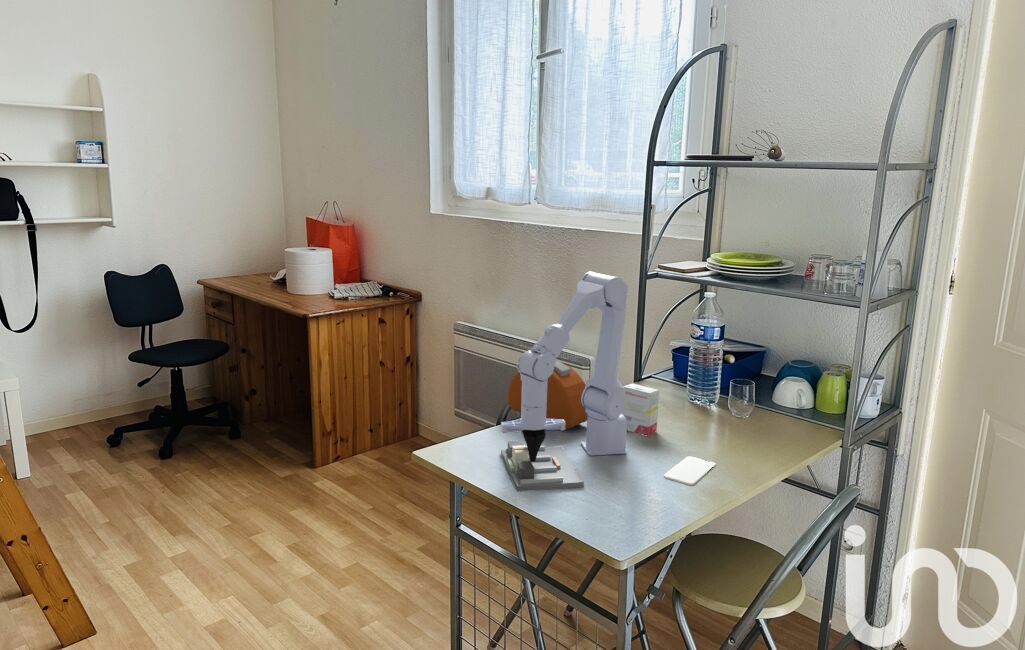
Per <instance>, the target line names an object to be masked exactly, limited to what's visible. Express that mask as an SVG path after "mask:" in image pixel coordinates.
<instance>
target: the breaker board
mask: <svg viewBox="0 0 1025 650" xmlns="http://www.w3.org/2000/svg"><path fill="white" fill-rule="evenodd" d="M518 445H523V443H522V441H521V440H507V447H505V449H501V450H500V455H501V458H502V460H503V463H504V465H505V468H506V470H507V471H508V474H509V476H510V480H511V481H512V483H513V485H514V488H515V490H516V492H528V491H540V490H556V489H557V490H559V489H572V488H573V489H574V488H584V486H585V481H584V479H583V478H582V476H581V475H580V473H579V471H577V468H576V467H575V466H574V464H573V462H572V461H571V460H570V458H569V456H568V455H567V453H566V452H565V450H564V448H563V447H562V446H554V447H553V446H549V447H545V445H541V446H540V448H539V451H538V453H537V457H536V461H535V462H531V461H530V459H529V457H528V461H520V462H517V468H515V467H514V465H513V463H512V446H518ZM527 450H528V448H527Z"/></svg>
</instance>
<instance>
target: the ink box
mask: <svg viewBox="0 0 1025 650" xmlns="http://www.w3.org/2000/svg"><path fill="white" fill-rule="evenodd" d="M623 388H624V400H625V406H624V410H623V412H622V413H621V414H623V415H624V417H625V419H626V424H627V430H628V431H627V432H631V431H632V432H631V433H634V432H635V433H634V434H638V433H639V435H642V434H643V435H642V436H645V435H647V436H646V437H650V436H652V435H653V434H654V432H655V431H656V432H657V428H658V415H659V414H658V412H659V400H660V390H659V389H657V388H656V389H655V388H652V387H647V386H644V385H640V384H635V383H629V384H627V385H624V386H623ZM656 432H655V433H656ZM652 433H653V434H652ZM649 435H650V436H649Z"/></svg>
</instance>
